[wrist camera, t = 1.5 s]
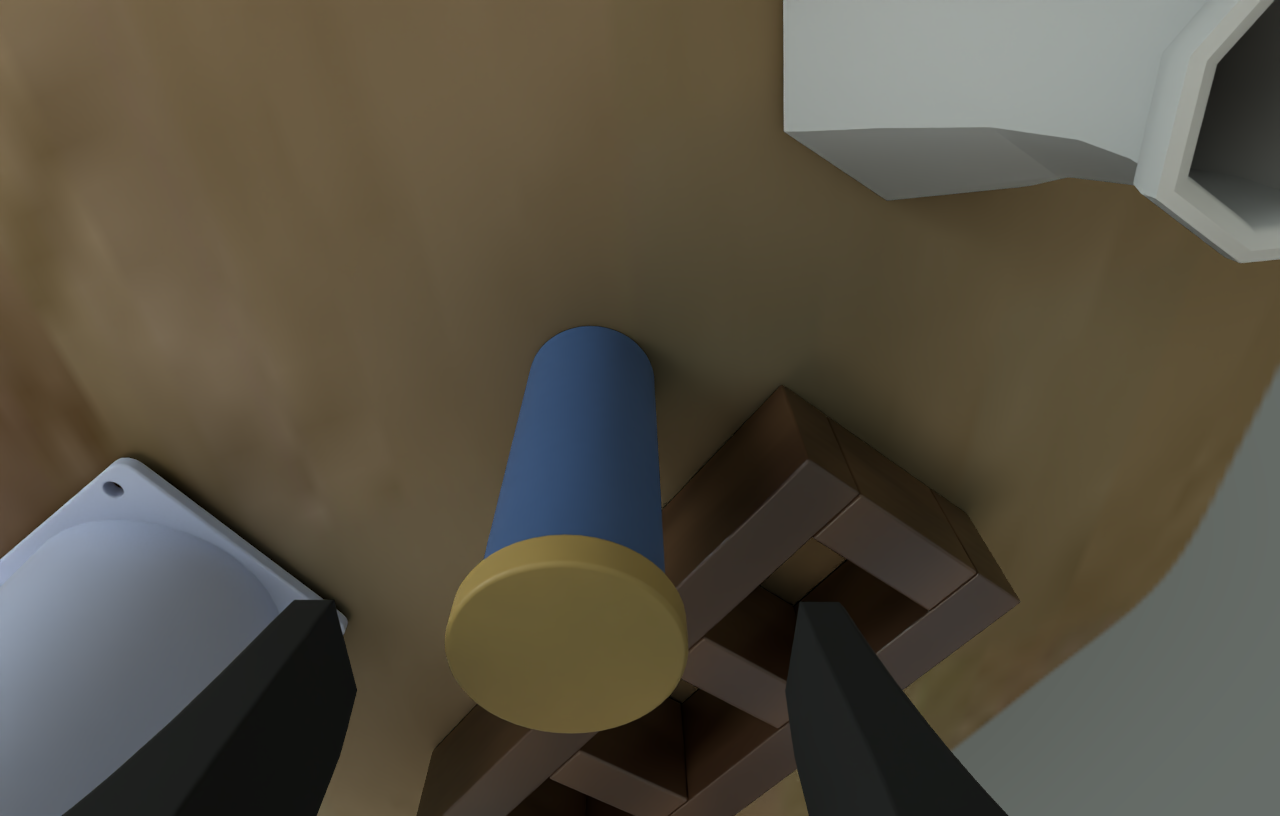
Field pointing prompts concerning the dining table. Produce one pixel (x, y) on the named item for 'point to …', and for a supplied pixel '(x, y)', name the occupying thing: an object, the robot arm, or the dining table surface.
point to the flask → (1050, 101)
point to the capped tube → (575, 552)
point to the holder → (747, 628)
